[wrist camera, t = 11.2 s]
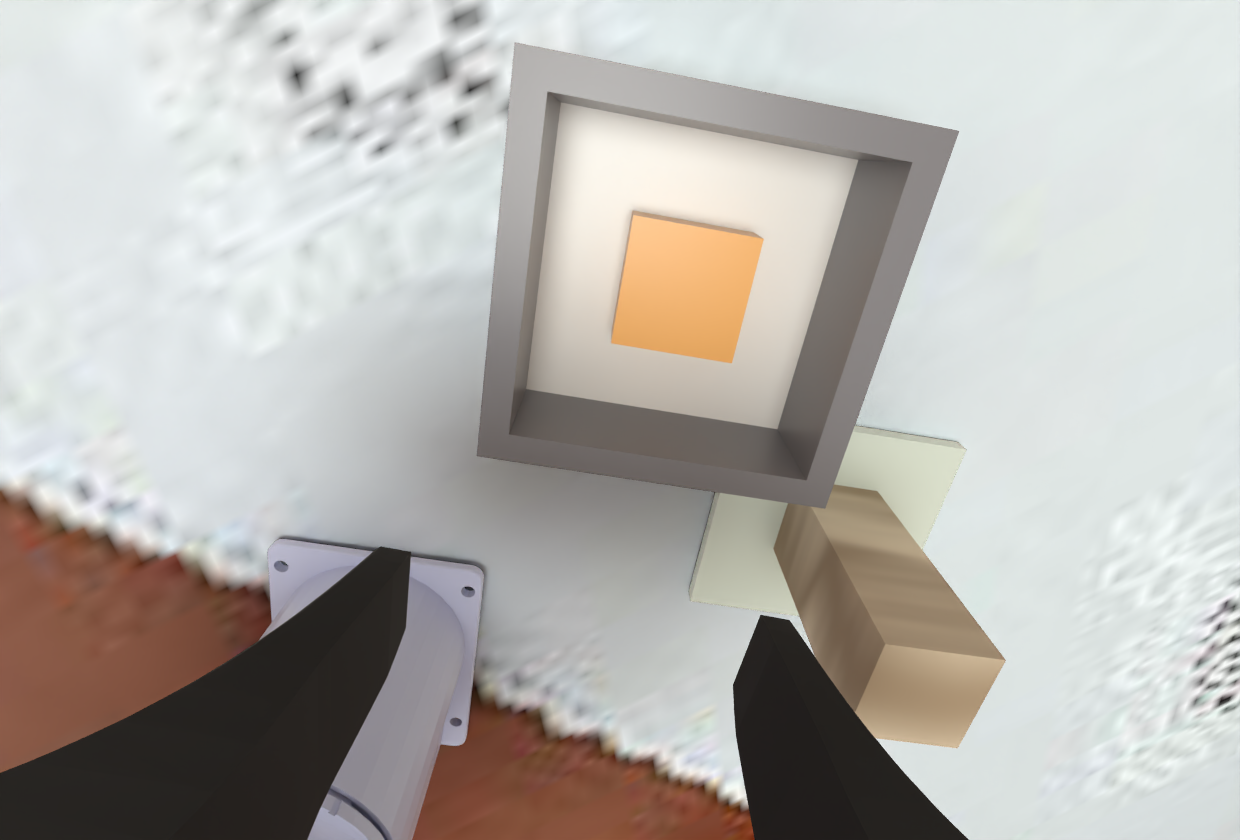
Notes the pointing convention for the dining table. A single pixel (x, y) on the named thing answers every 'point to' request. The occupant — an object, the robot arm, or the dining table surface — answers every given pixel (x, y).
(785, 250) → the switch box
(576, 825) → the dining table surface
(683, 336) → the button
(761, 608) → the sage tile
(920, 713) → the tan wooden block
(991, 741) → the dining table surface
